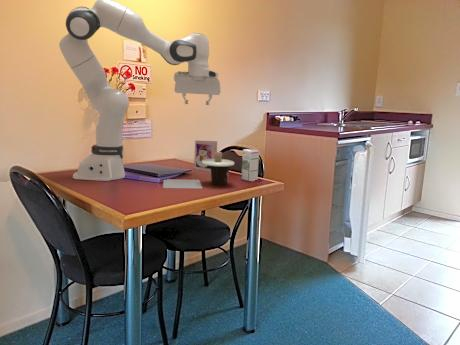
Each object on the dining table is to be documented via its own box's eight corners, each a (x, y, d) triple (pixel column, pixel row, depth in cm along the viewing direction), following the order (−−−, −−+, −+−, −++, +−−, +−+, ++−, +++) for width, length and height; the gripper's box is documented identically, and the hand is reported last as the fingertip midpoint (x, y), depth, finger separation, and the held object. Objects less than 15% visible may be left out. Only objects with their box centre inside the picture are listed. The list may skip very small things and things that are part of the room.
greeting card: (193, 169, 206) (194, 140, 203) (201, 167, 213) (202, 139, 210) (211, 172, 201) (213, 142, 198) (219, 170, 207) (220, 141, 204)
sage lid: (203, 166, 162) (203, 154, 161) (200, 160, 176) (200, 149, 175) (236, 166, 165) (237, 155, 164) (231, 160, 178) (232, 150, 177)
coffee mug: (217, 182, 179) (218, 160, 177) (232, 185, 174) (234, 163, 172) (200, 186, 170) (201, 163, 168) (216, 190, 165) (217, 166, 163)
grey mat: (163, 189, 162) (163, 187, 161) (163, 180, 177) (163, 179, 177) (202, 189, 164) (202, 188, 164) (199, 181, 180) (199, 179, 180)
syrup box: (257, 180, 187) (259, 150, 184) (248, 181, 184) (250, 150, 181) (249, 178, 192) (251, 148, 189) (240, 179, 188) (242, 149, 185)
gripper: (174, 70, 169) (173, 103, 172) (221, 73, 172) (220, 105, 175) (174, 71, 175) (173, 103, 178) (219, 74, 179) (218, 105, 181)
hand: (196, 104), depth 177 cm, fingers open, 8 cm apart
